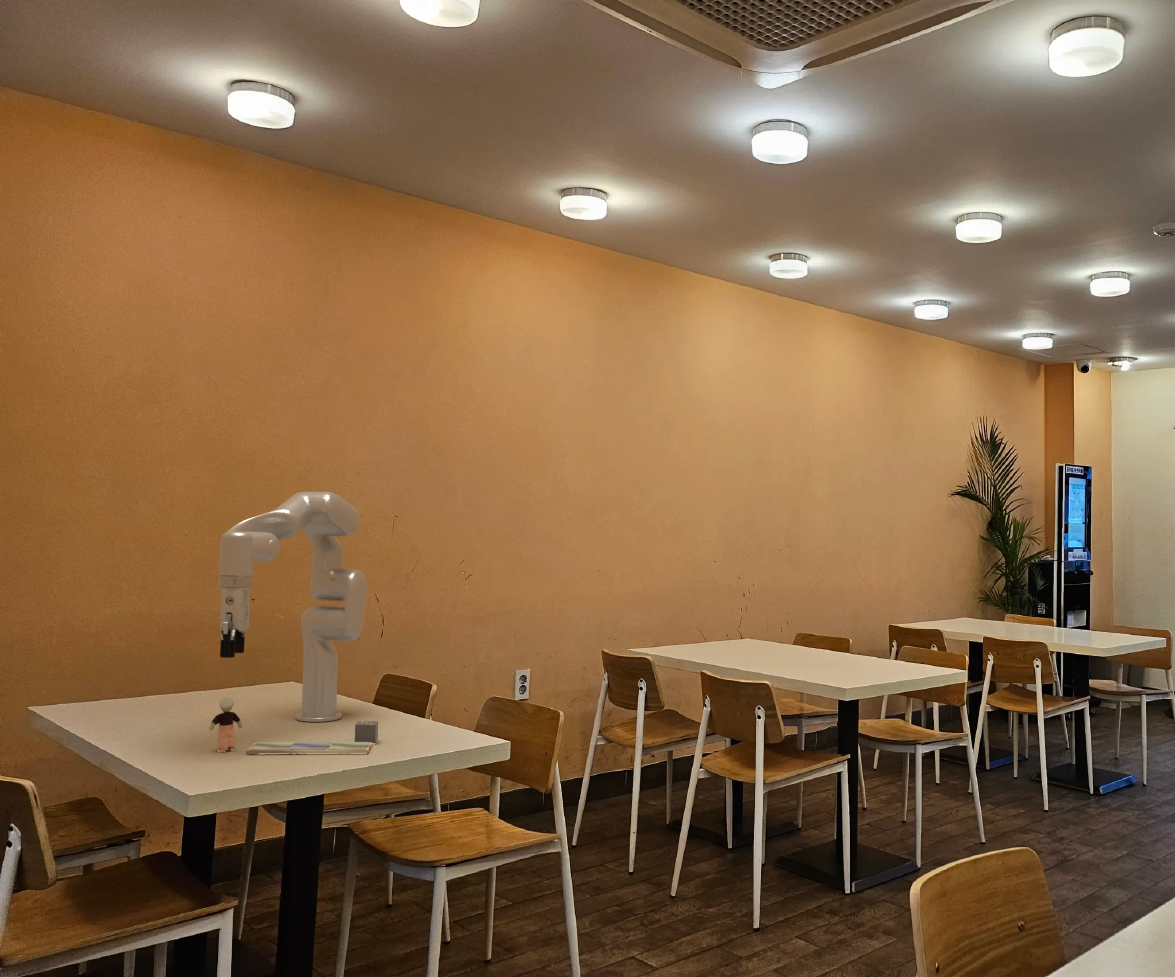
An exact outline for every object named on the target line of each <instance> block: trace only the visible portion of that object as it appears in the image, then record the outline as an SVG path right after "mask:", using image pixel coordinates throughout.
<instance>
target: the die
mask: <svg viewBox="0 0 1175 977" xmlns="http://www.w3.org/2000/svg"><path fill="white" fill-rule="evenodd" d="M354 726H355V727H354V742H372V743H376V741H377V740H378V739H379V738H378V737H379V721H378V720H377V721H376V720H358V721H357V722H356V723H355V725H354ZM378 741H379V740H378ZM378 741H377V742H378ZM376 744H377V743H376Z"/></svg>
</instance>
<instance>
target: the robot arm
mask: <svg viewBox="0 0 1175 977" xmlns="http://www.w3.org/2000/svg"><path fill="white" fill-rule="evenodd" d="M360 525H361V518H360V514H359V512H358V510H357V509H356V508H355V507H354V506H353V505H352V504H350V503H349V502H348V501H347V500H345V499H344V498H343V497H342V496H340V495H338V494H336V493H334V492H330V491H300V492H297V493H294V495H292V496H290V497H289V498H288V499H286V500H285V501H284V502H282V503H281V504H280V505H279V506H278V507H276V508H274V509H273V510H271V511H267V512H265V513H262V514H259V515H256V516H253V517H250V518H247V519H243V520H242V521H240V522H238V523H237V524H235V525H233V527H230V529H229V530H227V531H226V532H223V533H222V535H221V536H220V541H219V552H220V553H219V566H218V567H219V570H218V572H219V573H218V590H221V591H222V593H221V604H220V617H219V619H220V620H219V627H220V631H221V635H220V648H219V650H220V651H219V657H220V659H221V658H222V659H223V658H225V659H226V658H227V659H231V658H235V655H236V654H244V652H245V638H246V636H245V635H246V630H248V629H249V628H250V592H249V591H250V590H252V589H253V585H252V584H253V571H254V570H253V568H254V567H253V564H254V563H268V562H271V561H273V560H275V559H276V557H278V555H279V553H280V549H281V544H280V542H282V541H283V540H285V541H286V540H288V539H290V538H293V537H294V536H296V535H297V534H298V533H299V532H300V531H301V530H302V531H303V533H305V536H306V537H307V539H308V541H309V543H310V545H311V548H312V549H311V550H312V560H311V561H312V563H311V564H312V565H311V573H310V586H309V591H310V595H311V598H313V599H315V600H317V601H320V602H321V601H322V602H335V603H336V602H337V603H341V602H342V603H344V606H335V605H334V606H333V605H314V606H310V607H307V609H306V610H304V612H303V613H302V615H301V619H300V627H301V633H302V641H303V642H302V643H303V659H302V660H303V662H302V664H303V665H302V685H301V686H302V687H301V688H302V690H301V691H302V693H301V711H300V712H298V713H296V714H295V720H297V721H300V722H308V723H309V722H310V723H319V722H320V723H321V722H322V723H323V722H332V721H338V720H340V719H341V718H342V717H343V715H342V714H343V713H342V712H340V711H338V710H337V702H338V701H337V699H338V698H337V697H338V692H337V691H338V675H339V674H338V670H339V669H338V668H339V655H338V654H339V653H338V650H337V648H336V646H335V644H334V642H333V641H342V642H345V641H346V642H351V641H352V642H353V641H357V640H358V639H359V638H360V637H361V635H362V634H363V631H364V626H365V615H366V603H367V602H366V601H367V590H368V586H367V584H368V583H367V579H366V576H365V574H364V573H363V572H362V570H360V569H356V568H349V567H348V568H343V566H344V549H343V546H342V545H341V543H340V541H339V540H338V538H337V537H344V538H345V537H352V536H353V535H355V534H356V533H357V532H358V530H359V529H360Z"/></svg>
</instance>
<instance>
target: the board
mask: <svg viewBox="0 0 1175 977" xmlns="http://www.w3.org/2000/svg"><path fill="white" fill-rule="evenodd" d="M371 746H372V747H373V745H372V742H355V741H333V742H332V741H295V742H294V741H284V742H283V741H279V742H278V741H277V742H276V741H275V742H274V741H269V742H268V741H267V742H266V741H265V742H263V741H261V742H260V741H259V742H253V744H251V745H250V747H249V748H247V750H245V755H246V754H259V753H289V754H291V753H292V754H293V753H296V754H299V753H303V754H306V753H368V752H369V753H370V751H371V749H372V748H371ZM370 748H371V749H370ZM369 750H370V751H369ZM369 753H368V754H369Z"/></svg>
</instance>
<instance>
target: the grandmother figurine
mask: <svg viewBox="0 0 1175 977" xmlns="http://www.w3.org/2000/svg"><path fill="white" fill-rule="evenodd" d="M234 705H235V702H234V700H233V698H232V697H230V696H225V697H223V698H221V699H220V702H219V703H218V706H219V708H220V710H221V711H222V712H220V713H219V714H216V715H215V716H214V718H213V719H212V720H211V723H210V726H209V727H208V728H209V730H210V731H213V730H214V729H215V727H216V726H217V725H218V732H217V733H218V735H217V742H218V743H217V747H218V748H217V749H216V751H217V750H219V751H220V752H223V753H225V752H224V751H226V752H227V751H228V750H235V748H236V735H235V726H234V722H235V723H236V724H237V727H238V728H239V729H242V728H243V724H242V721H241V718H240V717H239V716H238V715H237V713H236V712H233V711H232V709H233V707H234ZM226 748H227V749H228V750H227V749H226ZM235 751H236V750H235ZM220 752H219V753H220Z"/></svg>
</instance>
